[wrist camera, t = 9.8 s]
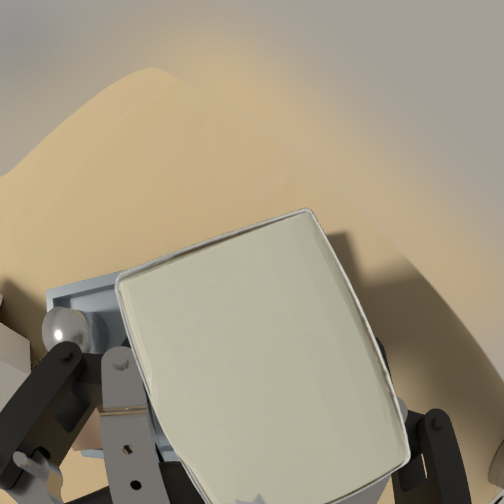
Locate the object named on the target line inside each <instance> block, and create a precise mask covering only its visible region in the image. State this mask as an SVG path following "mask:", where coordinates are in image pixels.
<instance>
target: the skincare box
mask: <svg viewBox="0 0 504 504" xmlns="http://www.w3.org/2000/svg"><path fill="white" fill-rule="evenodd" d="M115 292H116V296H117V300H118V304H119V307H120V311H121V315H122V319H123V322H124V326H125V329H126V333H127V336H128V339H129V342H130V345H131V348H132V351H133V354H134V357H135V360H136V363H137V366H138V369H139V371H140V374H141V377H142V379H143V382H144V384H145V387H146V390H147V393H148V396H149V398H150V401H151V403H152V406H153V408H154V411H155V413H156V416H157V418H158V421H159V423H160V425H161V427H162V429H163V432H164V433H165V435H166V437H167V439H168V440H169V442H170V444H171V446H172V447H173V449H174V451H175V453H176V454H177V456H178V458H179V459H180V461H181V463H182V465H183V467H184V469H185V470H186V472H187V474H188V476H189V478H190V479H191V481H192V483H193V484H194V486H195V488H196V489H197V491H198V492H199V494H200V495H201V497H202V498H203V500H204V501H205V503H206V504H336V503H338V502H340V501H342V500H345V499H347V498H349V497H351V496H353V495H355V494H357V493H359V492H361V491H363V490H365V489H367V488H368V487H370V486H372V485H374V484H376V483H377V482H379V481H380V480H382V479H383V478H385V477H386V476H388V475H390V474H391V473H393V472H394V471H396V470H397V469H399V468H401V467H402V466H404V465H405V464H406V463H408V462H409V460H410V457H411V452H410V448H409V443H408V436H407V433H406V429H405V425H404V420H403V416H402V413H401V409H400V405H399V402H398V399H397V396H396V392H395V389H394V386H393V384H392V381H391V378H390V375H389V372H388V369H387V367H386V364H385V362H384V359H383V356H382V353H381V351H380V349H379V346H378V344H377V341H376V339H375V336H374V334H373V331H372V329H371V326H370V324H369V322H368V319H367V317H366V315H365V313H364V310H363V308H362V306H361V304H360V302H359V299H358V297H357V295H356V293H355V291H354V289H353V287H352V284H351V282H350V280H349V278H348V276H347V274H346V272H345V270H344V268H343V267H342V265H341V263H340V261H339V259H338V257H337V255H336V253H335V251H334V249H333V247H332V245H331V244H330V242H329V240H328V238H327V237H326V235H325V233H324V231H323V229H322V227H321V226H320V224H319V222H318V220H317V218H316V217H315V215H314V213H313V211H312V210H311V209H308V208H302V209H298V210H295V211H293V212H290V213H287V214H284V215H281V216H278V217H275V218H271V219H267V220H264V221H261V222H258V223H255V224H252V225H249V226H246V227H243V228H240V229H236V230H233V231H230V232H227V233H224V234H221V235H218V236H216V237H212V238H209V239H207V240H205V241H202V242H199V243H196V244H193V245H191V246H188V247H185V248H182V249H179V250H176V251H173V252H171V253H168V254H165V255H163V256H160V257H158V258H155V259H153V260H150V261H148V262H145V263H143V264H140V265H137V266H135V267H132V268H130V269H128V270H125V271H123V272H121V273H120V274H119V275H118V277H117V278H116V282H115Z"/></svg>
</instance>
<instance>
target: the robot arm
mask: <svg viewBox="0 0 504 504" xmlns="http://www.w3.org/2000/svg"><path fill="white" fill-rule="evenodd" d="M375 339H376V341H377V344H378V346H379V349H380V351H381V353H382V356H383V359H384V362H385V364H386V367H387V369H388V372H389V375H390V370H389V366H388V362H387V358H386V354H385V351H384V347H383V345H382V344H381V342H380V341H379V340H378V338H377V337H375ZM390 378H391V375H390ZM391 381H392V379H391ZM392 384H393V383H392ZM397 399H398V402H399V405H400V409H401V413H402V416H403V420H404V425H405V429H406V433H407V436H408V443H409V448H410V452H411V457H410V460H409V462H408V463H406V464H405V465H404V466H402V467H401V468H399V469H397V470H396V471H394V472H393V473H391V474H390V475H388V476H386V477H385V478H383V479H382V480H380V481H379V482H377V483H376V484H374V485H372V486H370V487H368V488H367V489H365V490H363V491H361V492H359V493H357V494H355V495H353V496H351V497H349V498H347V499H345V500H342V501H340V502H338V503H336V504H377V502H378V500H379V498H380V496H381V494H382V492H383V490H384V488H385V486H386V484H387V482H388V480H389V478H390V476H391V477H392V484H393V491H394V499H395V504H472V503H471V497H470V492H469V487H468V482H467V477H466V473H465V469H464V465H463V461H462V457H461V453H460V450H459V446H458V443H457V439H456V436H455V433H454V430H453V427H452V423H451V420H450V418H449V416H448V415H447V414H446V413H445V412H444V411H443V410H441V409H431V410H430V411H428V412H427V413H426V414H425V415H423V414H420V413H416V412H413V411H410V410H407V406H406V404H405V403H404V402H403V400H402V399H400V398H399V397H397ZM97 405H103V411H101V412H100V416H99V420H100V431H101V440H102V448H103V455H104V461H105V467H106V473H107V478H108V483H109V486H106V487H104V488H102V489H100V490H98V491H95V492H93V493H90V494H88V495H86V496H83V497H81V498H78V499H75V500H73V501H70V502H67V503H64V502H63V500H62V498H61V487H62V485H63V476H62V473H61V471H60V469H59V466H60V464H61V463H62V461H63V459H64V458H65V456H66V454H67V453H68V451H69V449H70V448H71V446H72V444H73V443H74V441H75V440H76V438H77V436H78V435H79V433H80V432H81V430H82V428H83V427H84V425H85V424H86V422H87V421H88V419H89V417H90V416H91V414H92V413H93V411H94V410H95V408H96V407H97ZM422 453H423V457H424V461H425V466H426V471H427V479H426V475H425V470H424V465H423V461H422V456H421V454H422ZM488 479H489V482H490V483H492V484H494V485H496V486H498V487H500V488H503V489H504V442H503V443H502V445H501V446H500V448H499V450H498V452H497V454H496V456H495V458H494V460H493V462H492V465H491V468H490V471H489V477H488ZM0 489H2V490H4V491H6V492H7V493H8V494H9V495H10V496H11V497H12V498H13V499H14V500H15V501H16V502H17V503H19V504H206V503H205V501H204V500H203V498H202V497H201V495H200V494H199V492H198V491H197V489H196V488H195V486H194V484H193V483H192V481H191V479H190V478H189V476H188V474H187V472H186V470H185V469H184V467H183V465H182V463H181V461H167V462H166V461H165V457H164V454H163V450H162V447H161V444H160V441H159V437H158V433H157V429H156V424H155V420H154V415H153V410H152V405H151V401H150V398H149V396H148V393H147V390H146V387H145V384H144V382H143V379H142V377H141V374H140V371H139V369H138V366H137V363H136V360H135V357H134V354H133V351H132V348H131V345H130V342H129V339H128V336H127V337H126V338H125V340H124V341H123V343H122V344H121V346H118V347H114V348H111V349H109V350H108V351H107V352H106V353H105V354H92V353H82V350H81V348H80V347H79V345H78V344H76V343H74V342H71V341H63V342H60V343H58V344H56V345H55V346H54V347H53V348H52V349H51V350H50V351H49V352H48V353H47V355H46V356H45V357H44V358H43V359H42V360H41V362H40V363H39V364H38V365H37V366H36V367H35V369H34V370H33V371H32V372H31V373H30V375H29V376H28V377H27V378H26V379H25V381H24V382H23V383H22V384H21V386H20V387H19V388H18V389H17V391H16V392H15V393H14V395H13V396H12V397H11V398H10V400H9V401H8V402H7V404H6V405H5V406H4V408H3V409H2V410H1V412H0Z"/></svg>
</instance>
